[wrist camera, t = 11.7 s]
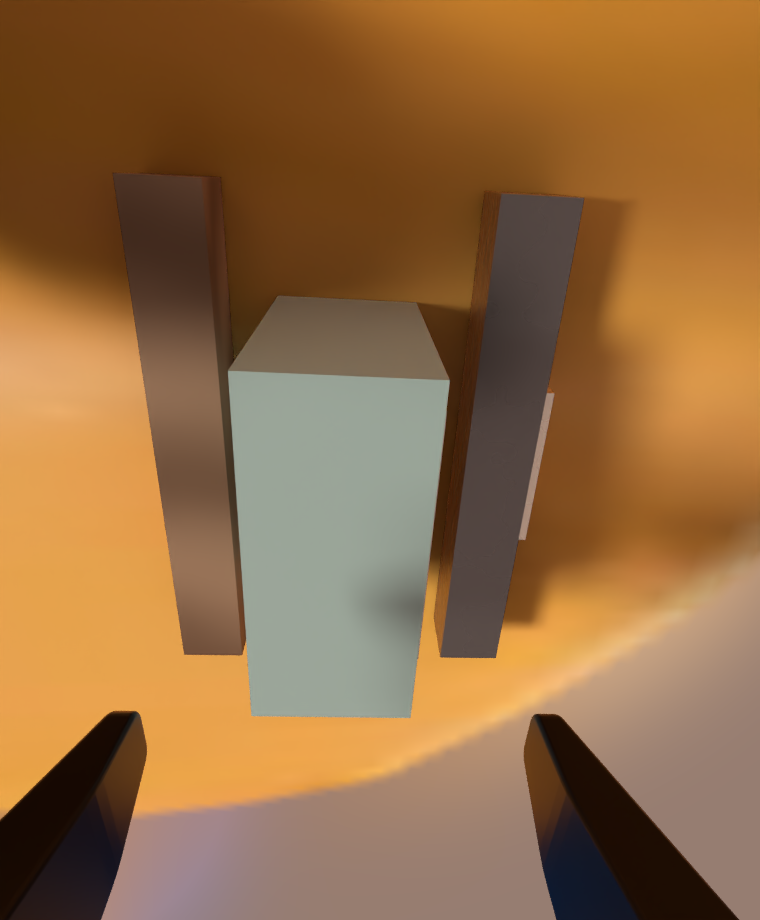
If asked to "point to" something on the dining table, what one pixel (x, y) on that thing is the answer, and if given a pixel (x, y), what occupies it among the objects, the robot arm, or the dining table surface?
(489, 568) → the rail
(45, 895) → the robot arm
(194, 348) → the shelf ledge
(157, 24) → the dining table surface
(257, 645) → the box
